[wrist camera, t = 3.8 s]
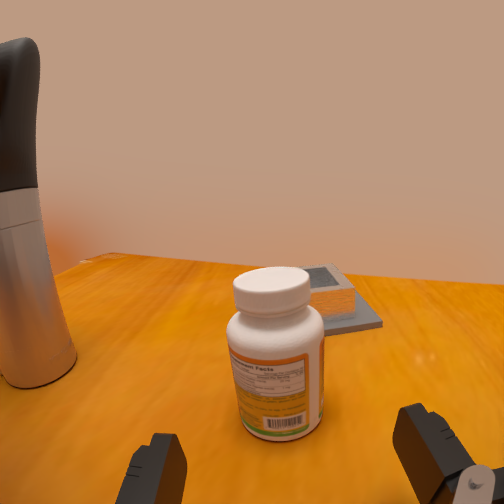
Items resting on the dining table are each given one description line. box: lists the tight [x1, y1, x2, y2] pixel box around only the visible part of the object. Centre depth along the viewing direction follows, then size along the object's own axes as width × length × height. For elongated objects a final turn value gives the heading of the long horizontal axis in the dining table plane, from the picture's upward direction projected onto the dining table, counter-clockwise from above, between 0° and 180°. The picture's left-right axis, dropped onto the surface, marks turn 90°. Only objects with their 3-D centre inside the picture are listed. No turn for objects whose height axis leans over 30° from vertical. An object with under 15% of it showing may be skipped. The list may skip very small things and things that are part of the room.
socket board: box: [294, 263, 383, 336], centre depth 33 cm, size 14×12×4 cm
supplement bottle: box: [227, 267, 324, 441], centre depth 17 cm, size 5×5×10 cm
